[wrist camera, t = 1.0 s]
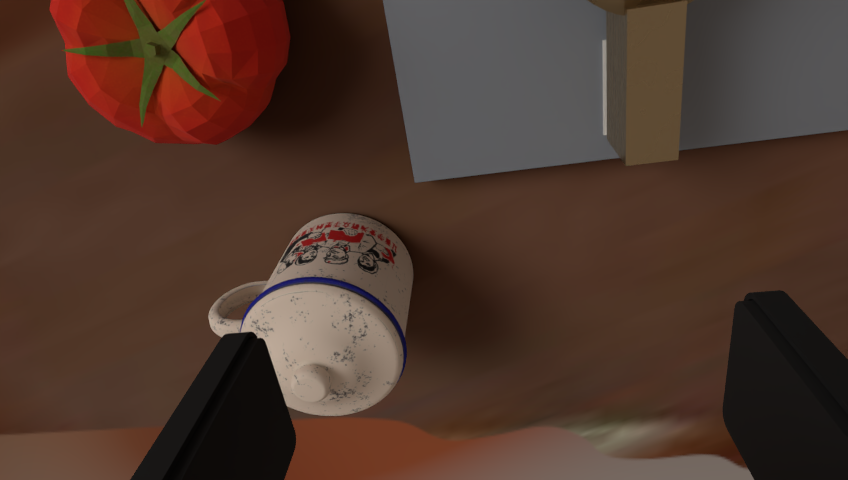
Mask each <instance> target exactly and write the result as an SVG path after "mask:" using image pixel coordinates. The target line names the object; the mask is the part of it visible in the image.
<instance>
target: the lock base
mask: <svg viewBox="0 0 848 480" xmlns="http://www.w3.org/2000/svg"><path fill="white" fill-rule="evenodd" d="M383 4H384V9H385V15H386V21H387V26H388V32H389V38H390V44H391V49H392V55H393V61H394V66H395V72H396V78H397V84H398V89H399V95H400V101H401V106H402V112H403V118H404V123H405V129H406V135H407V141H408V146H409V152H410V158H411V163H412V169H413V175H414V181H415V183H417V182H425V181H433V180H441V179H449V178H458V177H466V176H474V175H482V174H490V173H499V172H507V171H515V170H523V169H531V168H540V167H548V166H556V165H564V164H572V163H581V162H589V161H597V160H605V159H613V158H620V157H619V156H618V154H617V153H616V152H615V150H614V149H613V147H612V146H611V145H610V143H609V142H608V140H607V71H606V10H603V9H601V8H600V7H598V6H596V5H594V4H592V3H590V2H588V1H587V0H383ZM843 130H848V0H694V1H692V2H691V3H689V4H687V14H686V32H685V50H684V67H683V85H682V103H681V121H680V138H679V150H687V149H695V148H704V147H712V146H720V145H728V144H736V143H745V142H753V141H761V140H769V139H777V138H786V137H794V136H802V135H810V134H819V133H827V132H835V131H843Z"/></svg>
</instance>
